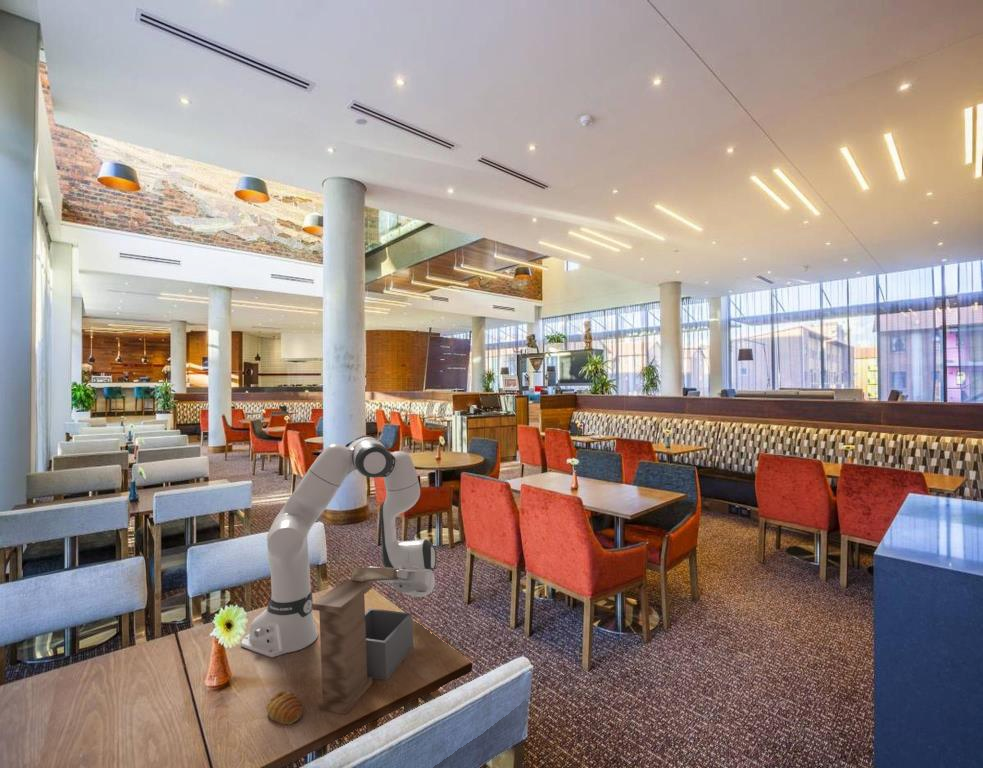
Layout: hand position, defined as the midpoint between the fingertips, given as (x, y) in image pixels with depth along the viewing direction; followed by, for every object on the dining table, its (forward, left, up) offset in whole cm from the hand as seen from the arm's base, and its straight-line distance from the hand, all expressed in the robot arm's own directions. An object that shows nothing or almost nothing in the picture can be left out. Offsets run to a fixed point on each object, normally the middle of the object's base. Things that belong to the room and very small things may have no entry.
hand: (387, 572), depth 142 cm
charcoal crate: (0, -6, -22) cm, 23 cm away
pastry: (-11, -31, -23) cm, 40 cm away
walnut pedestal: (0, -22, -22) cm, 31 cm away
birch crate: (0, -6, +1) cm, 6 cm away
